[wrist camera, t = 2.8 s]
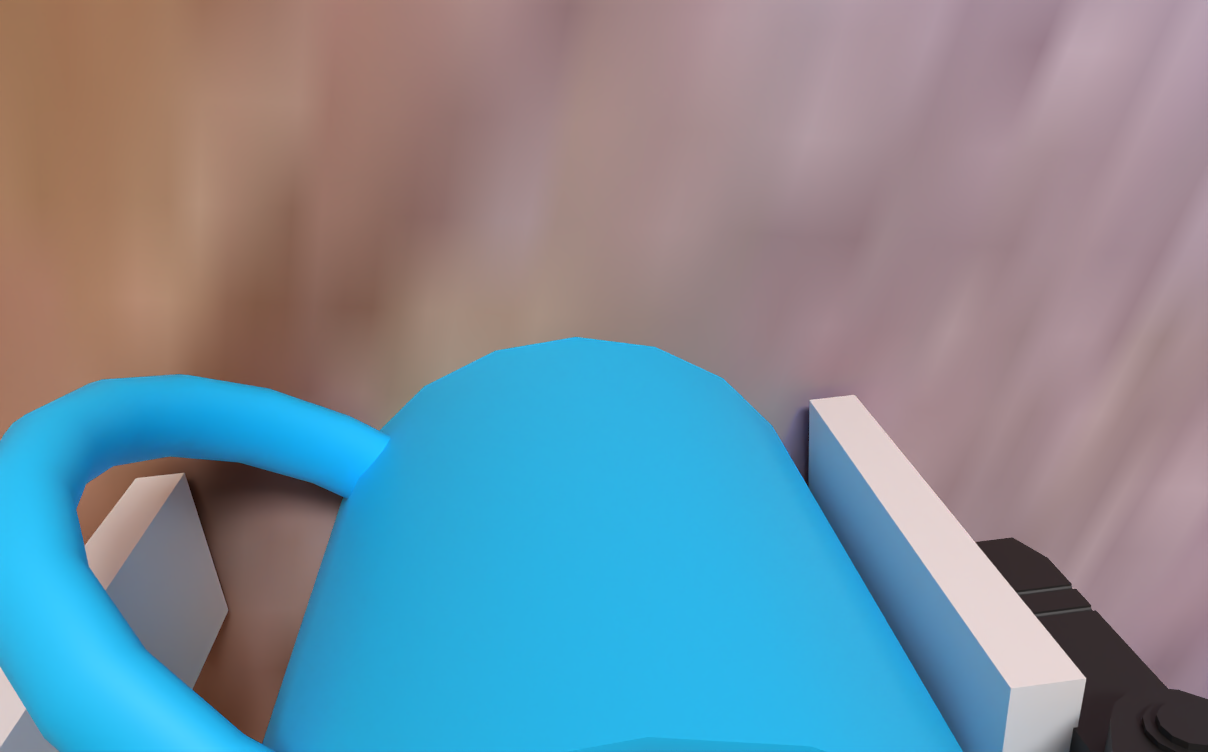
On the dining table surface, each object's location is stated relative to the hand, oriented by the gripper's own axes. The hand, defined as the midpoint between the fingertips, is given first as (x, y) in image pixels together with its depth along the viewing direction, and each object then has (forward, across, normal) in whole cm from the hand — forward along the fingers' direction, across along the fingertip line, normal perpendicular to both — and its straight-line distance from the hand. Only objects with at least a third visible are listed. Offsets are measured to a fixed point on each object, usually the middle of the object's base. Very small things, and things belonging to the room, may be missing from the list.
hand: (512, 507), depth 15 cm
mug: (0, 0, 0) cm, 1 cm away
